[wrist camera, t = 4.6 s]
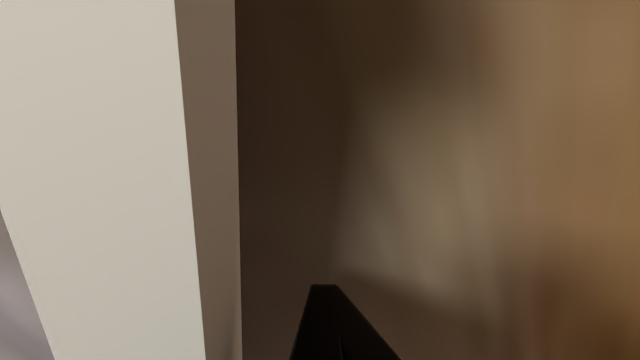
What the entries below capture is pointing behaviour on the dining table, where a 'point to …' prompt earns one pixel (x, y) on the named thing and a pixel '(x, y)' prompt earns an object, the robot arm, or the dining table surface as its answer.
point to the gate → (124, 174)
